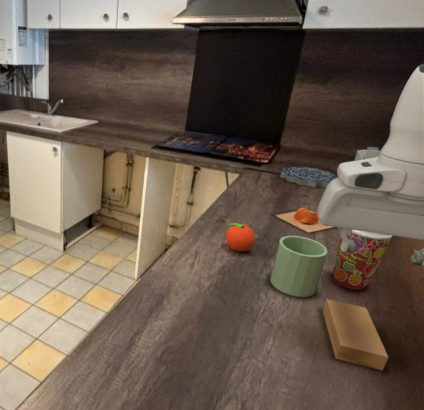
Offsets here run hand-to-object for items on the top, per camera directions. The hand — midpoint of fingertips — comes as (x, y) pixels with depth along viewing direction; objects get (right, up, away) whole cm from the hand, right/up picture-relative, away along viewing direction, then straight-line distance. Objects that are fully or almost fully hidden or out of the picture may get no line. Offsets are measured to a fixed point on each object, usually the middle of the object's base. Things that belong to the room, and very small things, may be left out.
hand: (380, 257), depth 58 cm
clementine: (-8, -3, +36) cm, 37 cm away
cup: (-2, -9, +22) cm, 24 cm away
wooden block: (0, -16, +7) cm, 17 cm away
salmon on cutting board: (+19, +3, +51) cm, 55 cm away
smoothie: (+11, -9, +22) cm, 27 cm away
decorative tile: (+42, +19, +86) cm, 98 cm away
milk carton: (+43, +8, +61) cm, 75 cm away
